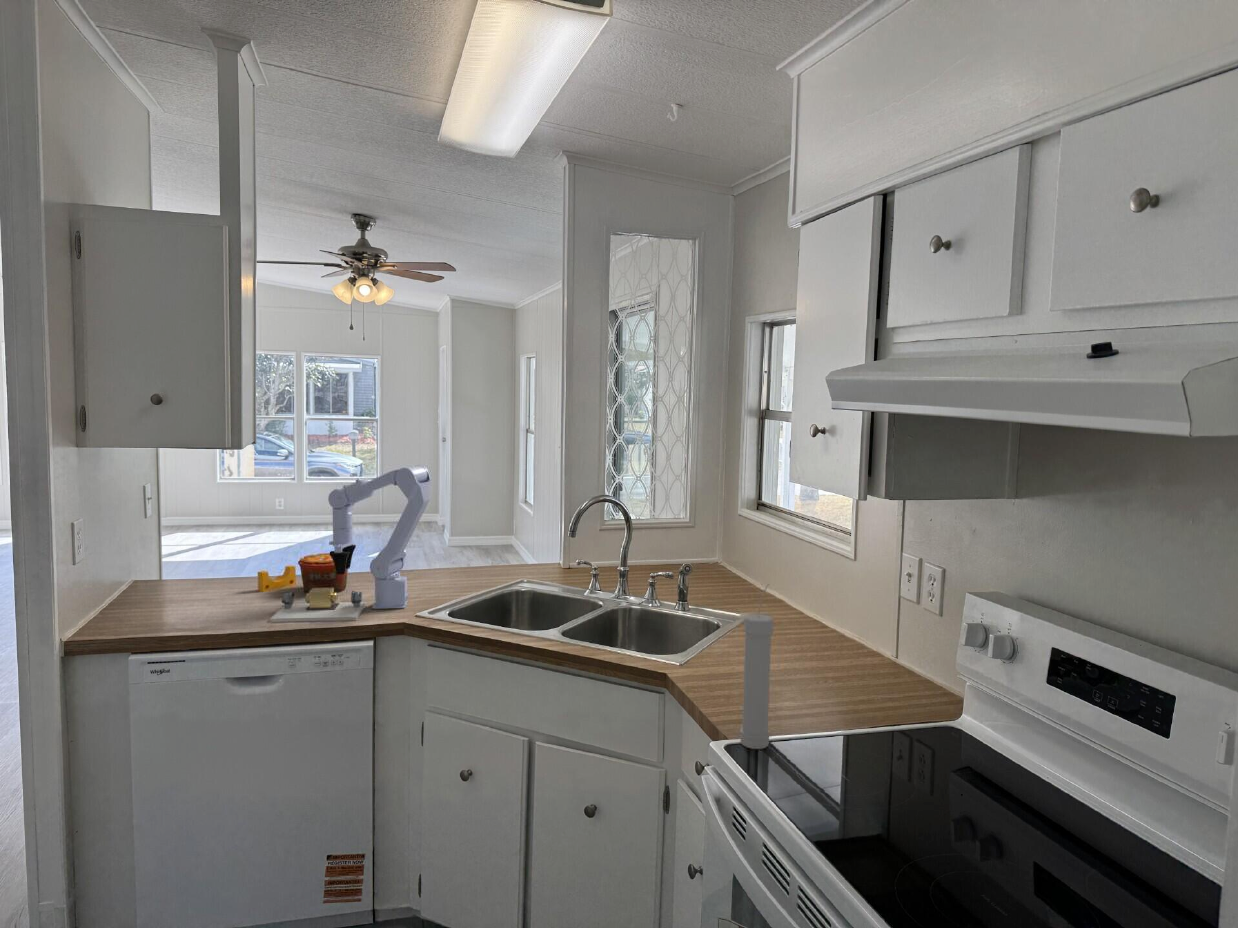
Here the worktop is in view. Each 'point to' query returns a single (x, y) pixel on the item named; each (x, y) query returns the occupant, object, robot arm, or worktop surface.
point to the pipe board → (319, 610)
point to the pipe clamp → (276, 580)
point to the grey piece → (756, 680)
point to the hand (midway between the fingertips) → (343, 571)
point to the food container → (321, 573)
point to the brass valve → (321, 598)
